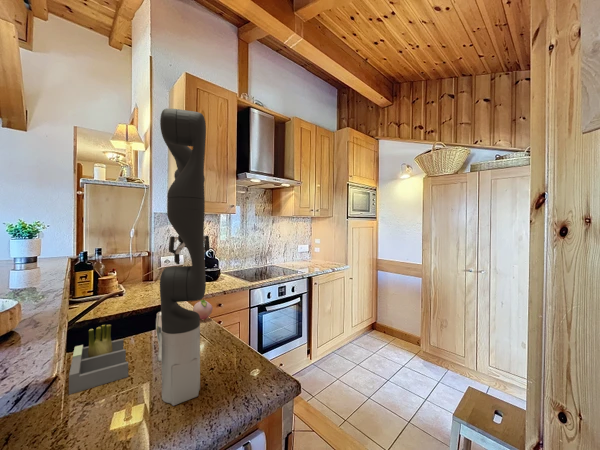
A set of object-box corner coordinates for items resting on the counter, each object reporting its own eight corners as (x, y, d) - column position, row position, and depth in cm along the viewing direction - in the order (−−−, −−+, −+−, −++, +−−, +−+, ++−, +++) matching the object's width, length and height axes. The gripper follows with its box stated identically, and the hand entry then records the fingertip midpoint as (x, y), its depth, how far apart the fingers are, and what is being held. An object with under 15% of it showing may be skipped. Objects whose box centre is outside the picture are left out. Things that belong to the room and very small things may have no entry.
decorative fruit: (190, 319, 123) (190, 298, 123) (208, 315, 127) (208, 295, 128) (196, 325, 115) (196, 302, 115) (214, 321, 120) (214, 299, 120)
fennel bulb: (87, 368, 80) (87, 330, 80) (92, 361, 84) (92, 324, 84) (109, 364, 82) (109, 327, 82) (113, 357, 87) (113, 321, 87)
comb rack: (128, 376, 75) (128, 358, 75) (68, 394, 67) (68, 373, 67) (123, 349, 92) (123, 334, 92) (75, 361, 84) (75, 345, 84)
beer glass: (155, 364, 82) (155, 317, 82) (156, 354, 88) (156, 311, 88) (179, 359, 85) (179, 313, 86) (178, 350, 92) (178, 308, 92)
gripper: (171, 220, 91) (171, 266, 91) (211, 220, 100) (211, 262, 100) (167, 220, 97) (167, 263, 97) (205, 221, 106) (205, 260, 106)
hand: (189, 263), depth 98 cm, fingers open, 8 cm apart
